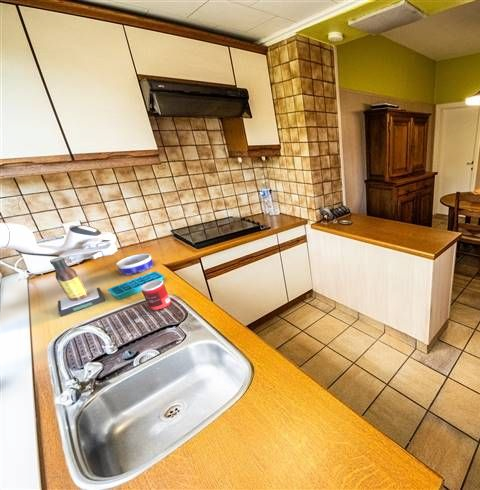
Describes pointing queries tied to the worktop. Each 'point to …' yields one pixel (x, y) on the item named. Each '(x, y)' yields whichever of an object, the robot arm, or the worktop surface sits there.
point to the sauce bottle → (69, 280)
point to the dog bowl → (135, 264)
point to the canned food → (156, 295)
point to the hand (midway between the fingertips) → (80, 259)
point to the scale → (80, 302)
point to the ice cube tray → (134, 285)
